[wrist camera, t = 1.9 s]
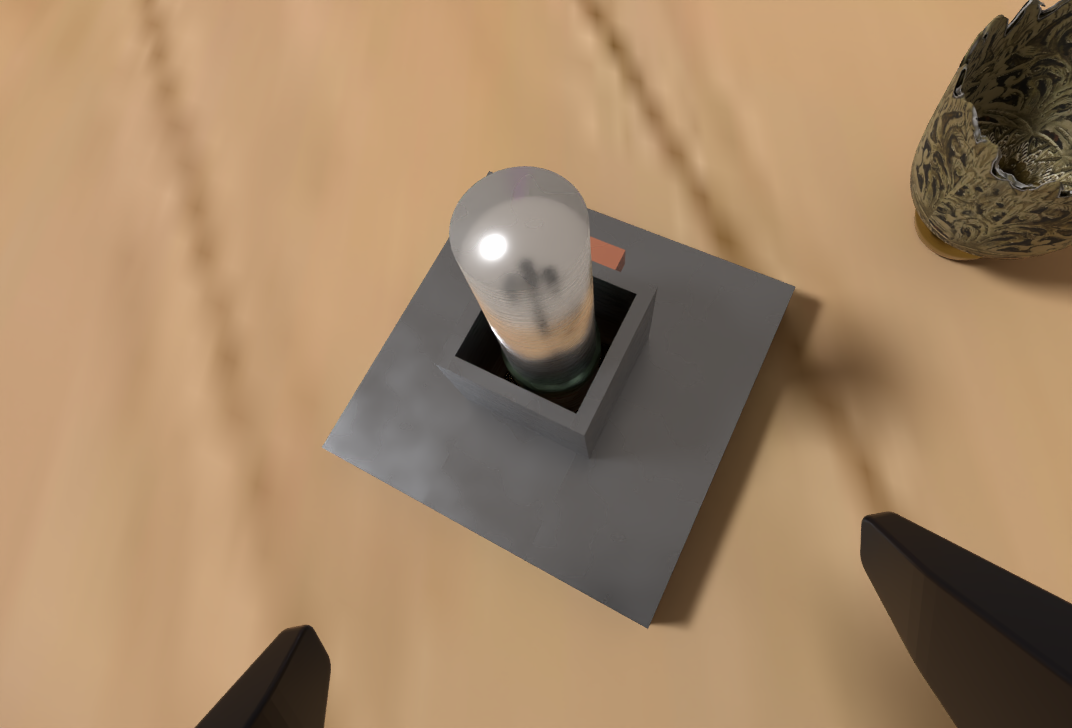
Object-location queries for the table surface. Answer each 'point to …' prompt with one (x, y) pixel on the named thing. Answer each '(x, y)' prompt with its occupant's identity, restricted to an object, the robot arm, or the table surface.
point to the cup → (1002, 144)
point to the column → (532, 277)
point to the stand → (573, 414)
